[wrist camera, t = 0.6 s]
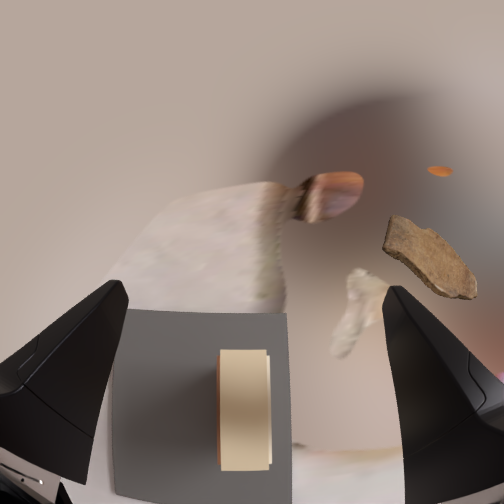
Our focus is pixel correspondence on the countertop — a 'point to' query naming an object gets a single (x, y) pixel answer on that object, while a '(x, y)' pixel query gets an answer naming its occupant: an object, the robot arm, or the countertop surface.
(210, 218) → the countertop surface
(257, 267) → the countertop surface
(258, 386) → the cream rectangular block
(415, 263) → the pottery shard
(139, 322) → the mat
